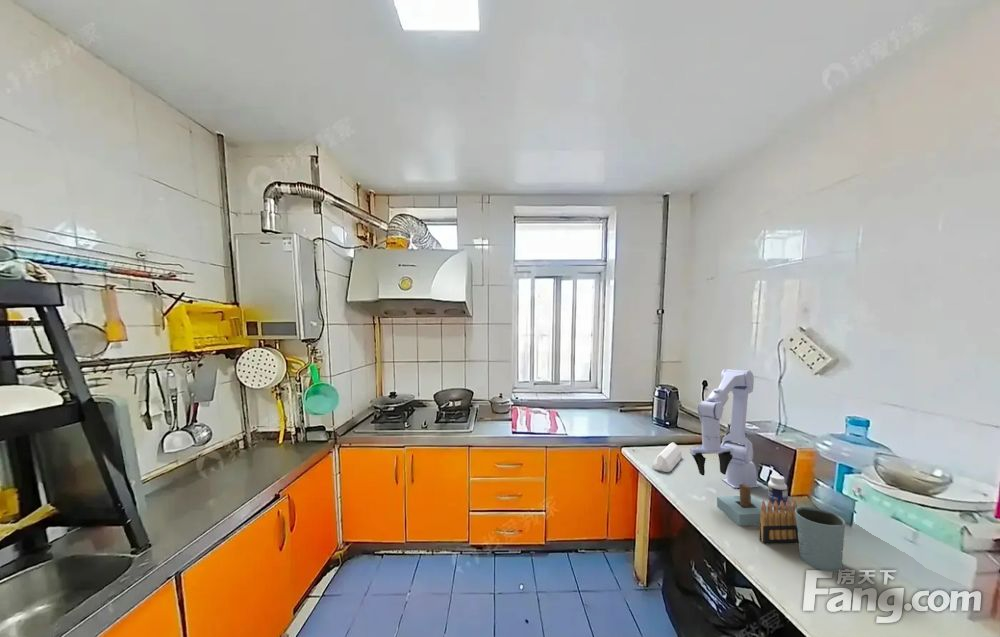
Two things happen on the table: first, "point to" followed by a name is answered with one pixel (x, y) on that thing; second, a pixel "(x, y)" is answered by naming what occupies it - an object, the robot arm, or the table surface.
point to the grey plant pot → (820, 538)
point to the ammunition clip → (778, 524)
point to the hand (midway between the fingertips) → (712, 473)
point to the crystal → (667, 458)
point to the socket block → (741, 510)
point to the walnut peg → (745, 496)
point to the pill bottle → (777, 490)
